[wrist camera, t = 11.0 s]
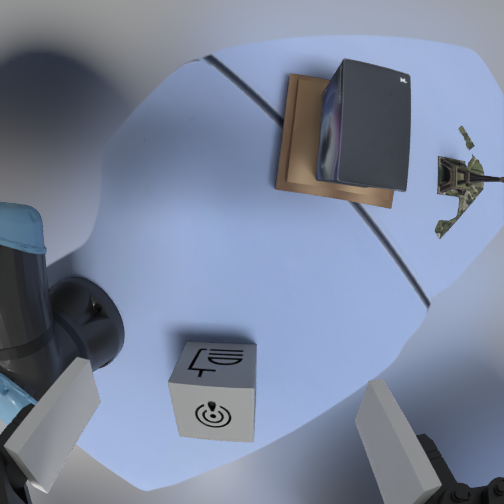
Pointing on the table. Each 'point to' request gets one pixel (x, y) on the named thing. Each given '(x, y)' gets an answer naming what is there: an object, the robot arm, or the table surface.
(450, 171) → the eiffel tower figurine
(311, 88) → the plinth
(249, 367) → the icon cube
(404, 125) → the small box
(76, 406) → the robot arm
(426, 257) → the table surface
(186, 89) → the table surface
